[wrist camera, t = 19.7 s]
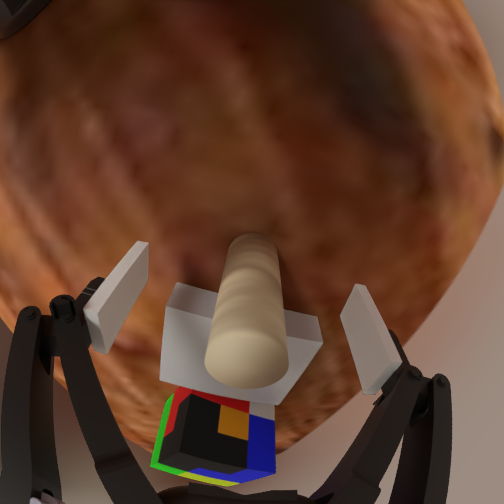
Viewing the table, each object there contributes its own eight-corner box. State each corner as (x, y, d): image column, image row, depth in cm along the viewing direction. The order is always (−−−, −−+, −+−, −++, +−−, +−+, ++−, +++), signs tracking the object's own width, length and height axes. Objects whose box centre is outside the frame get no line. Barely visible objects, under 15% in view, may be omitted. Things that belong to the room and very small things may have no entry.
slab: (178, 278, 21) (166, 305, 18) (316, 313, 23) (323, 342, 20) (167, 354, 26) (159, 380, 23) (277, 378, 27) (278, 405, 24)
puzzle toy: (274, 397, 29) (275, 473, 20) (232, 424, 33) (227, 486, 24) (196, 367, 26) (179, 452, 17) (166, 401, 30) (149, 466, 21)
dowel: (223, 270, 20) (200, 381, 12) (232, 227, 19) (209, 330, 10) (270, 280, 21) (275, 393, 12) (283, 238, 19) (300, 345, 10)
